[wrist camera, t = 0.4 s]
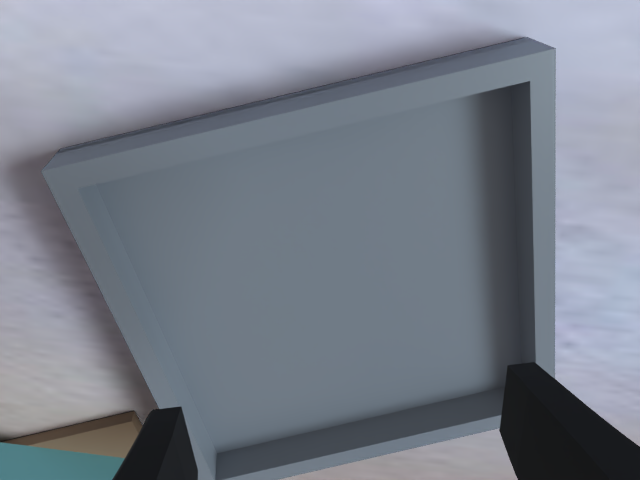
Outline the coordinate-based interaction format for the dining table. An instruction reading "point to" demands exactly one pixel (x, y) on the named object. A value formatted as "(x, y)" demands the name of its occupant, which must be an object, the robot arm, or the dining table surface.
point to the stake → (90, 436)
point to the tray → (332, 258)
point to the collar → (54, 464)
